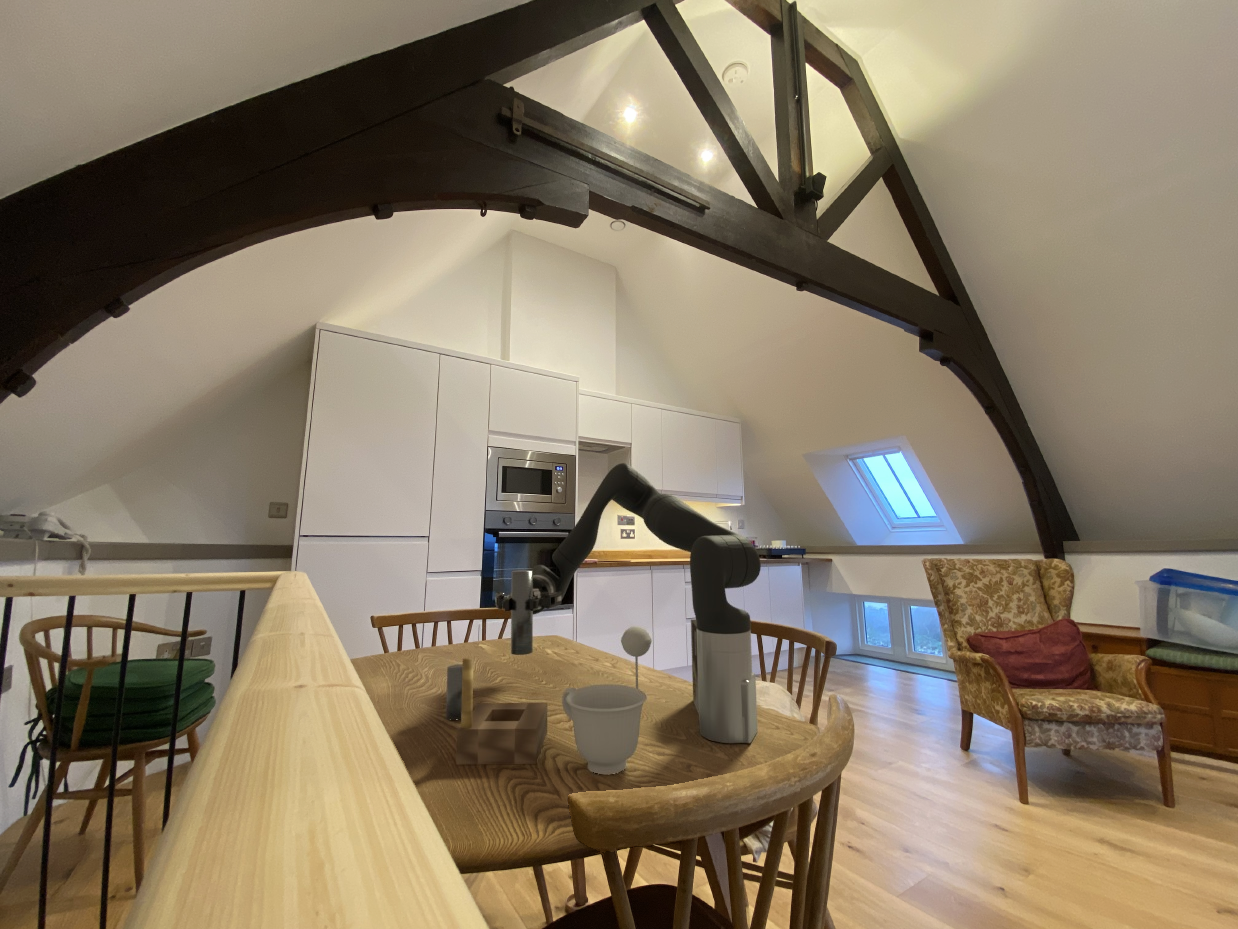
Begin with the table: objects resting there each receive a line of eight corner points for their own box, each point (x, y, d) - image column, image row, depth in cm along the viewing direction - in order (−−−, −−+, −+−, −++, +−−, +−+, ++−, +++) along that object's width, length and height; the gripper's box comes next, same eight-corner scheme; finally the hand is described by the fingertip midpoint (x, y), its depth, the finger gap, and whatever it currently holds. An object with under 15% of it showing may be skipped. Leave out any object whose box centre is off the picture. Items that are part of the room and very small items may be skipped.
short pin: (472, 714, 101) (473, 665, 102) (458, 721, 98) (459, 670, 99) (456, 712, 103) (457, 663, 104) (441, 718, 100) (442, 668, 101)
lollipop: (617, 707, 105) (617, 628, 106) (626, 698, 110) (625, 623, 112) (648, 710, 103) (647, 629, 105) (655, 700, 108) (654, 624, 110)
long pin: (536, 651, 102) (537, 570, 103) (524, 655, 98) (524, 572, 100) (519, 649, 103) (519, 570, 105) (506, 653, 100) (507, 571, 101)
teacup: (590, 739, 89) (589, 676, 90) (664, 763, 80) (662, 693, 81) (535, 764, 80) (535, 694, 81) (611, 795, 71) (611, 715, 72)
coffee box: (732, 715, 100) (729, 626, 101) (697, 715, 100) (695, 626, 102) (724, 699, 109) (721, 617, 111) (692, 699, 109) (690, 618, 111)
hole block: (547, 733, 92) (547, 642, 94) (536, 763, 80) (536, 659, 82) (477, 733, 92) (479, 643, 94) (455, 764, 80) (458, 660, 82)
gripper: (501, 576, 116) (481, 585, 99) (567, 575, 116) (557, 584, 99) (501, 612, 116) (480, 627, 99) (567, 611, 115) (557, 626, 98)
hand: (519, 605), depth 99 cm, fingers closed on long pin, 4 cm apart
